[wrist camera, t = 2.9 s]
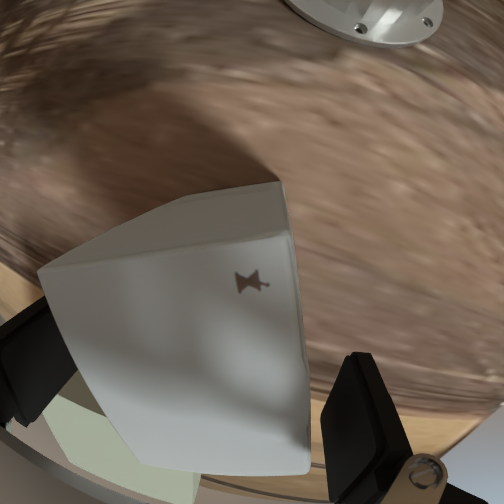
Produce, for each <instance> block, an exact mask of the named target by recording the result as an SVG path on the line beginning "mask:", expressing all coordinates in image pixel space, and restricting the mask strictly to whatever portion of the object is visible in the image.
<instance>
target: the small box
mask: <svg viewBox="0 0 504 504" xmlns="http://www.w3.org/2000/svg"><path fill="white" fill-rule="evenodd" d="M37 275H38V278H39V281H40V284H41V286H42V289H43V292H44V294H45V297H46V299H47V302H48V304H49V307H50V310H51V312H52V315H53V317H54V319H55V322H56V324H57V326H58V329H59V331H60V333H61V335H62V337H63V340H64V342H65V344H66V346H67V348H68V350H69V352H70V354H71V356H72V358H73V360H74V362H75V364H76V366H77V368H78V370H79V372H80V373H81V375H82V377H83V379H84V381H85V382H86V384H87V386H88V388H89V389H90V391H91V393H92V394H93V396H94V398H95V399H96V401H97V403H98V404H99V406H100V407H101V409H102V411H103V412H104V414H105V415H106V417H107V418H108V420H109V421H110V423H111V424H112V426H113V427H114V429H115V430H116V432H117V433H118V434H119V436H120V437H121V439H122V440H123V441H124V443H125V444H126V445H127V447H128V448H129V449H130V450H131V452H132V453H133V454H134V456H135V457H136V458H137V460H138V461H139V462H140V463H141V464H145V465H150V466H155V467H160V468H166V469H173V470H180V471H187V472H195V473H204V474H215V475H231V476H283V475H303V474H306V473H308V471H309V470H310V466H311V403H310V373H309V366H308V360H307V354H306V344H305V334H304V324H303V315H302V305H301V297H300V288H299V280H298V272H297V264H296V257H295V249H294V242H293V235H292V228H291V223H290V218H289V213H288V207H287V202H286V197H285V191H284V186H283V182H282V181H276V182H269V183H261V184H254V185H248V186H241V187H235V188H228V189H222V190H216V191H210V192H204V193H198V194H192V195H187V196H183V197H181V198H179V199H176V200H174V201H171V202H169V203H166V204H164V205H161V206H159V207H157V208H155V209H153V210H150V211H148V212H146V213H144V214H142V215H140V216H138V217H136V218H134V219H131V220H129V221H127V222H125V223H123V224H121V225H119V226H116V227H114V228H112V229H110V230H108V231H106V232H105V233H103V234H101V235H98V236H96V237H95V238H93V239H91V240H89V241H87V242H85V243H83V244H81V245H80V246H78V247H76V248H74V249H72V250H70V251H68V252H67V253H65V254H63V255H62V256H60V257H58V258H56V259H54V260H53V261H51V262H49V263H48V264H46V265H44V266H43V267H41V268H40V269H39V270H37Z"/></svg>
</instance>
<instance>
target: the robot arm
mask: <svg viewBox="0 0 504 504" xmlns="http://www.w3.org/2000/svg"><path fill="white" fill-rule="evenodd" d="M284 1H285V2H286V3H287V4H288V5H289V6H290V7H291V8H292V9H293V10H294V11H295V12H296V13H298V14H299V15H301V16H302V17H303V18H305V19H306V20H307V21H309V22H310V23H312V24H314V25H316V26H317V27H319V28H321V29H323V30H324V31H326V32H329V33H331V34H333V35H336V36H338V37H340V38H343V39H346V40H349V41H352V42H355V43H359V44H362V45H368V46H373V47H378V48H402V47H409V46H412V45H415V44H418V43H421V42H422V41H424V40H425V39H427V38H428V37H430V36H431V35H432V34H433V33H434V32H435V31H436V30H437V29H438V27H439V25H440V23H441V21H442V18H443V11H444V9H443V1H442V0H284ZM357 31H358V32H360V33H361V34H360V33H358V32H357ZM77 370H78V368H77V366H76V364H75V362H74V360H73V358H72V356H71V354H70V352H69V350H68V348H67V346H66V344H65V342H64V340H63V337H62V335H61V333H60V331H59V329H58V326H57V324H56V322H55V319H54V317H53V315H52V312H51V310H50V307H49V304H48V302H47V299H46V297H45V296H43V297H42V298H40V299H39V300H37V301H36V302H34V303H33V304H31V305H30V306H29V307H27V308H26V309H24V310H23V311H21V312H20V313H18V314H17V315H16V316H14V317H13V318H11V319H10V320H9V321H7V322H6V323H4V324H3V325H2V326H0V504H148V503H145V502H141V501H139V500H136V499H133V498H131V497H128V496H125V495H123V494H120V493H117V492H115V491H113V490H110V489H108V488H105V487H103V486H101V485H99V484H96V483H94V482H92V481H90V480H88V479H85V478H84V477H82V476H80V475H77V474H76V473H73V472H71V471H70V470H68V469H66V468H64V467H62V466H61V465H59V464H57V463H55V462H54V461H52V460H50V459H48V458H47V457H45V456H43V455H42V454H40V453H39V452H37V451H35V450H34V449H32V448H31V447H29V446H28V445H26V444H25V443H23V442H22V441H20V440H19V439H17V438H16V437H15V436H13V435H12V426H11V419H12V418H13V416H14V418H15V420H16V421H17V422H19V423H20V424H22V425H23V426H25V427H26V428H27V426H28V425H29V424H30V423H31V422H34V421H35V420H36V419H37V418H38V417H39V415H40V414H41V413H42V412H43V411H44V409H45V408H46V407H47V406H48V404H49V403H50V402H51V401H52V400H53V398H54V397H55V396H56V395H57V394H58V392H59V391H60V390H61V389H62V388H63V387H64V385H65V384H66V383H67V382H68V381H69V379H70V378H71V377H72V376H73V375H74V374H75V373H76V371H77ZM320 422H321V430H322V438H323V446H324V455H325V464H326V473H327V483H328V493H329V500H330V502H334V503H335V504H488V503H487V502H486V501H485V500H483V499H481V498H478V497H476V496H474V495H472V494H470V493H468V492H465V491H463V490H461V489H459V488H457V487H455V486H453V485H451V484H449V483H447V479H448V473H447V469H446V467H445V465H444V464H443V463H442V461H441V460H440V459H438V458H437V457H435V456H433V455H430V454H423V453H420V454H416V455H413V452H412V449H411V447H410V444H409V441H408V439H407V436H406V433H405V431H404V428H403V426H402V423H401V421H400V418H399V416H398V413H397V411H396V408H395V406H394V403H393V401H392V398H391V396H390V395H389V394H388V391H387V389H386V386H385V384H384V382H383V379H382V377H381V375H380V372H379V370H378V368H377V366H376V363H375V361H374V359H373V357H372V355H371V353H364V352H353V353H352V354H351V356H346V357H345V359H344V362H343V364H342V367H341V369H340V371H339V374H338V376H337V379H336V381H335V383H334V386H333V388H332V390H331V393H330V395H329V397H328V399H327V401H326V404H325V406H324V408H323V410H322V413H321V417H320Z"/></svg>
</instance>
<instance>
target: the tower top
mask: <svg viewBox="0 0 504 504" xmlns="http://www.w3.org/2000/svg"><path fill="white" fill-rule="evenodd" d="M42 413H43V415H44V417H45V419H46V421H47V423H48V425H49V427H50V429H51V431H52V432H53V434H54V436H55V438H56V440H57V441H58V443H59V445H60V447H61V448H62V450H63V452H64V453H65V455H66V456H67V458H68V460H69V461H70V462H71V463H72V464H74V465H76V466H78V467H80V468H82V469H84V470H86V471H88V472H90V473H93V474H94V475H97V476H99V477H101V478H103V479H105V480H108V481H110V482H112V483H115V484H117V485H120V486H122V487H125V488H127V489H130V490H133V491H135V492H138V493H141V494H144V495H147V496H150V497H153V498H156V499H159V500H163V501H166V502H169V503H173V504H194V500H195V496H196V492H197V489H198V485H199V481H200V477H201V473H195V472H187V471H180V470H173V469H166V468H160V467H155V466H150V465H145V464H141V463H140V462H139V461H138V460H137V458H136V457H135V456H134V454H133V453H132V452H131V450H130V449H129V448H128V447H127V445H126V444H125V443H124V441H123V440H122V439H121V437H120V436H119V434H118V433H117V432H116V430H115V429H114V427H113V426H112V424H111V423H110V421H109V420H108V418H107V417H106V415H105V414H104V412H103V411H102V409H101V407H100V406H99V404H98V403H97V401H96V399H95V398H94V396H93V394H92V393H91V391H90V389H89V388H88V386H87V384H86V382H85V381H84V379H83V377H82V375H81V373H80V372H79V370H77V371H76V373H75V374H74V375H73V376H72V377H71V378H70V379H69V381H68V382H67V383H66V384H65V385H64V387H63V388H62V389H61V390H60V391H59V392H58V394H57V395H56V396H55V397H54V398H53V400H52V401H51V402H50V403H49V404H48V406H47V407H46V408H45V409H44V411H43V412H42Z"/></svg>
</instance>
